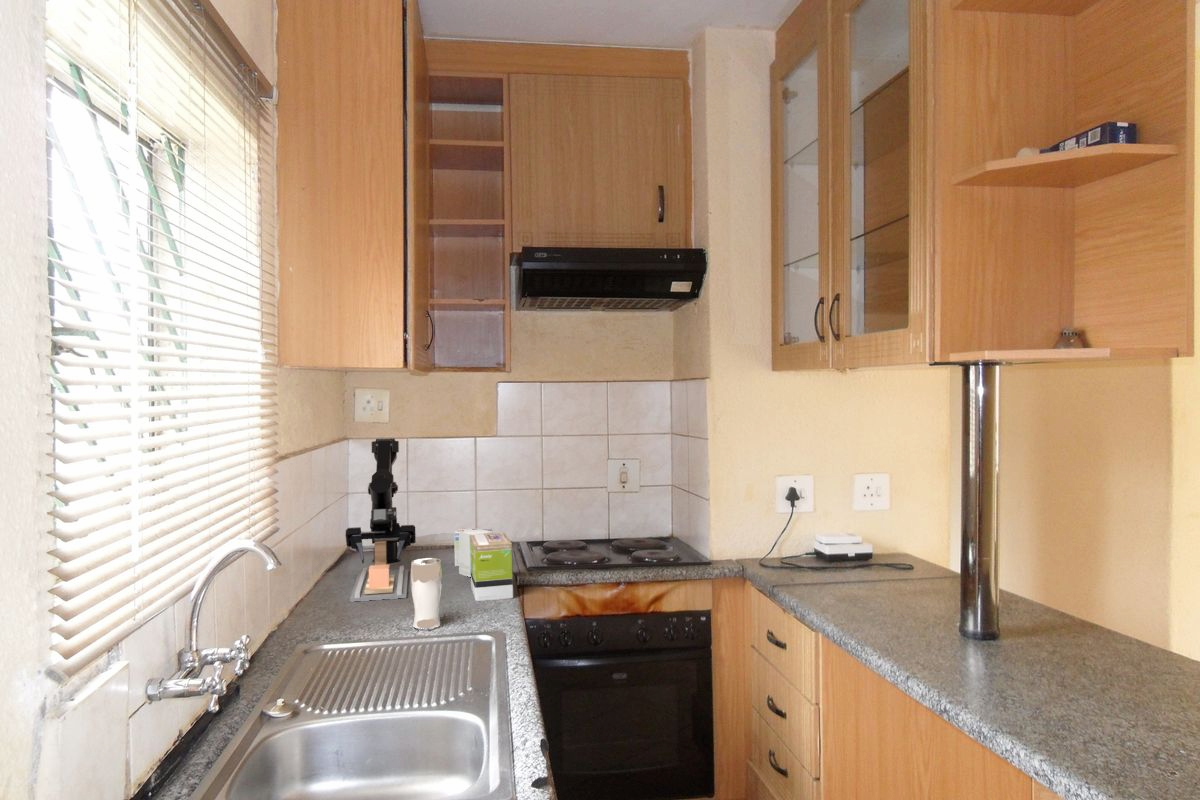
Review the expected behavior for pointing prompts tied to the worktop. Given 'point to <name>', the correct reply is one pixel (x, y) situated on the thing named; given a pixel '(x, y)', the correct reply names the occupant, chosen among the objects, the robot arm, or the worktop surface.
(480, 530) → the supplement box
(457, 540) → the light bulb box
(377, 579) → the terracotta cube
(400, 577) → the guide board
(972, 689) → the worktop surface
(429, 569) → the beer glass
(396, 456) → the robot arm
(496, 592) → the tea box
